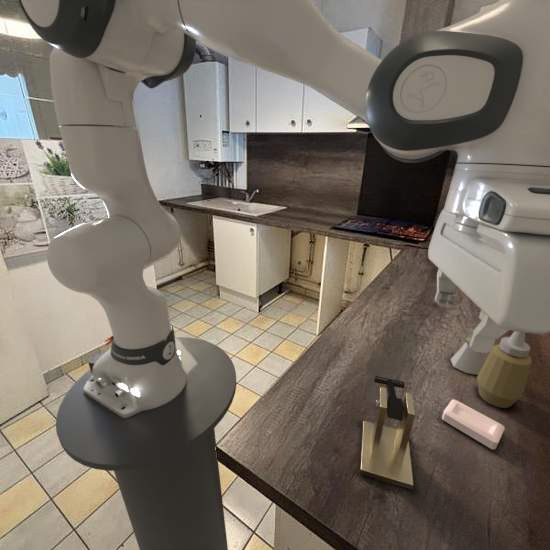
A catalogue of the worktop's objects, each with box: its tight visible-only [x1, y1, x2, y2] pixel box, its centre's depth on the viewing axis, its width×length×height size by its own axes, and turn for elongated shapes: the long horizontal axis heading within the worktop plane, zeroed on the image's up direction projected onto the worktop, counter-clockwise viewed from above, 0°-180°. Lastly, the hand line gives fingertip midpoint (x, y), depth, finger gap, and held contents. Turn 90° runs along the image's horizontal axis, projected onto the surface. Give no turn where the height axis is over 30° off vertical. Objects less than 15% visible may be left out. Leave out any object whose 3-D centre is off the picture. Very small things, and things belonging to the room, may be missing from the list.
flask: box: [449, 341, 484, 376], centre depth 71 cm, size 7×7×10 cm
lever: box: [373, 375, 406, 422], centre depth 52 cm, size 13×6×2 cm, turn 161°
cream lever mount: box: [359, 386, 417, 490], centre depth 49 cm, size 10×8×13 cm
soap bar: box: [441, 398, 506, 450], centre depth 56 cm, size 5×9×2 cm, turn 42°
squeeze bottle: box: [476, 331, 533, 409], centre depth 60 cm, size 8×8×18 cm
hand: (457, 324), depth 33 cm, fingers open, 8 cm apart
